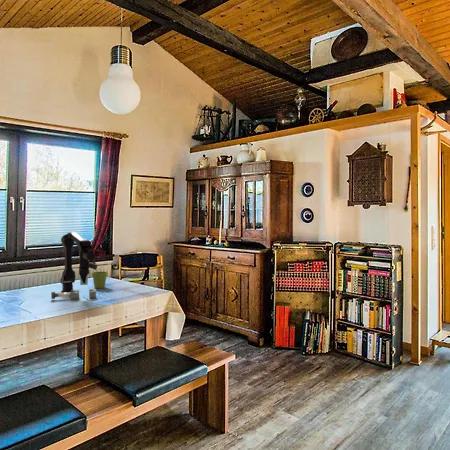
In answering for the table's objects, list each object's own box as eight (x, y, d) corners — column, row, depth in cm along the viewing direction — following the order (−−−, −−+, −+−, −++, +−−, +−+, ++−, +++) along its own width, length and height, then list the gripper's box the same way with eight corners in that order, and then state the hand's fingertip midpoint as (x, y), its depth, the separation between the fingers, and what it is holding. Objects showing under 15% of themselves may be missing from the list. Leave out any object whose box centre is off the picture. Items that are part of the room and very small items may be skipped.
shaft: (51, 299, 247) (51, 292, 247) (51, 298, 251) (51, 291, 251) (78, 297, 253) (78, 291, 253) (78, 296, 257) (78, 289, 257)
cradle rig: (70, 300, 250) (70, 292, 249) (70, 297, 257) (70, 290, 257) (95, 298, 255) (95, 291, 255) (95, 295, 263) (95, 288, 262)
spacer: (80, 285, 252) (80, 276, 252) (80, 283, 258) (80, 275, 258) (87, 284, 254) (87, 276, 253) (87, 282, 259) (87, 274, 259)
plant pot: (110, 286, 294) (110, 271, 294) (102, 289, 282) (102, 274, 282) (96, 285, 296) (96, 270, 296) (88, 288, 285) (88, 273, 284)
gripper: (97, 260, 249) (97, 284, 250) (96, 256, 267) (96, 279, 267) (79, 261, 245) (79, 285, 246) (78, 257, 263) (79, 280, 263)
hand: (84, 282), depth 256 cm, fingers closed on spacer, 6 cm apart
